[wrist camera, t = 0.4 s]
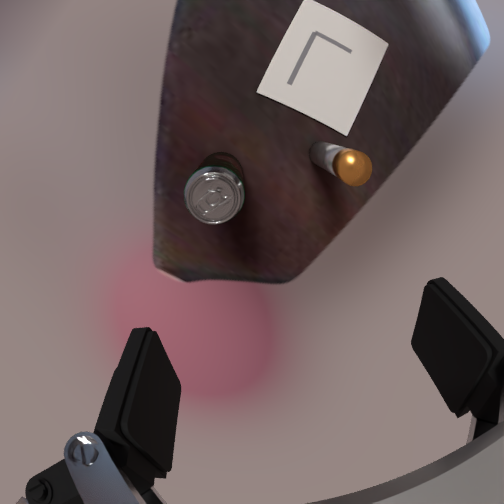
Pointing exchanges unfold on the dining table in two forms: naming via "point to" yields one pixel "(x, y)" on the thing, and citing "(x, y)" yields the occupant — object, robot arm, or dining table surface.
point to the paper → (324, 66)
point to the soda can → (215, 189)
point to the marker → (342, 162)
